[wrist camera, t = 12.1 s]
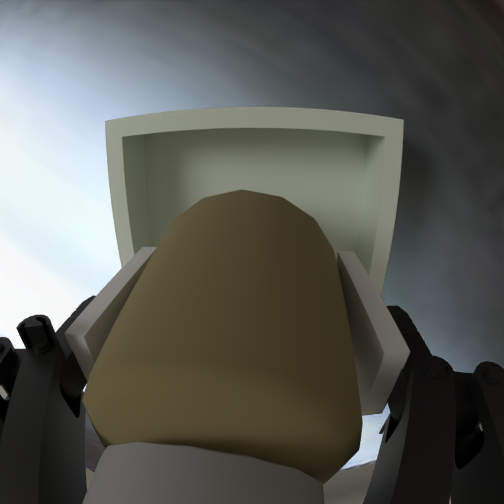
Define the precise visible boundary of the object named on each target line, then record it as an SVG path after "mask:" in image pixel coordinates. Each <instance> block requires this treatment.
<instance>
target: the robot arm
mask: <svg viewBox="0 0 504 504" xmlns="http://www.w3.org/2000/svg"><path fill="white" fill-rule="evenodd" d="M156 248H157V247H142V248H141V249H140V250H139V251H138V252H137V253H136V254H135V255H134V256H133V257H132V258H131V259H130V260H129V262H128V263H127V264H126V265H125V266H124V267H123V268H122V269H121V270H120V271H119V272H118V273H117V274H116V275H115V276H114V277H113V278H112V279H111V281H110V282H109V283H108V284H107V285H106V286H105V287H104V288H103V289H102V290H101V291H100V293H99V294H98V295H97V296H91V297H90V298H88V299H87V300H85V301H83V302H82V303H81V304H80V305H79V307H78V308H77V309H76V311H74V312H73V313H72V314H71V317H69V318H68V319H67V320H66V321H65V322H64V323H63V325H62V326H61V327H60V328H59V329H58V330H57V331H56V333H55V331H54V329H53V326H52V324H51V321H50V319H49V318H48V317H47V316H45V315H34V316H30V317H28V318H26V319H24V320H23V321H22V322H21V323H20V324H19V325H18V326H17V330H18V333H19V335H20V337H21V339H22V341H23V343H24V345H25V347H26V349H14V347H13V345H12V343H11V341H10V340H9V338H6V337H0V385H2V387H3V388H4V390H5V391H6V393H7V394H8V396H7V397H6V398H5V399H3V398H2V396H1V395H0V504H82V503H83V500H84V498H85V495H86V493H87V486H86V485H87V484H86V465H85V418H86V409H85V406H84V404H83V401H82V399H83V396H84V392H83V389H84V387H85V386H86V384H87V382H88V378H89V375H90V373H91V371H92V368H93V366H94V364H95V362H96V360H97V358H98V356H99V354H100V352H101V349H102V347H103V345H104V343H105V341H106V339H107V337H108V335H109V333H110V331H111V329H112V327H113V325H114V323H115V322H116V320H117V318H118V316H119V314H120V312H121V310H122V308H123V306H124V304H125V303H126V301H127V299H128V297H129V295H130V293H131V292H132V290H133V288H134V286H135V284H136V283H137V281H138V279H139V277H140V275H141V274H142V272H143V270H144V268H145V267H146V265H147V263H148V262H149V260H150V258H151V256H152V255H153V253H154V251H155V250H156ZM337 266H338V270H339V275H340V280H341V285H342V290H343V295H344V300H345V305H346V310H347V316H348V321H349V327H350V333H351V339H352V345H353V351H354V358H355V365H356V372H357V379H358V387H359V395H360V403H361V412H362V416H363V415H372V414H380V413H382V412H383V410H384V408H385V406H386V404H387V402H388V406H389V409H390V414H389V416H388V418H387V420H386V421H385V423H384V425H383V427H382V428H381V430H380V432H379V434H382V433H383V432H384V433H383V437H382V441H381V445H380V449H379V453H378V457H377V461H376V464H375V468H374V471H373V474H372V478H371V482H370V484H369V488H368V490H367V494H366V496H365V499H364V502H363V504H449V499H450V496H451V504H504V369H503V368H502V367H501V366H499V365H498V364H496V363H493V362H488V361H485V362H482V363H480V364H479V365H478V366H477V367H476V369H475V371H474V373H463V372H455V371H453V369H452V367H451V366H450V364H449V363H448V362H447V361H445V360H444V359H442V358H440V357H437V356H432V354H431V353H430V351H429V349H428V347H427V345H426V344H425V342H424V340H423V339H422V337H421V335H420V333H419V332H418V331H417V328H416V327H415V325H414V324H413V322H412V320H411V318H410V317H409V315H408V314H407V313H406V312H405V311H404V310H403V309H401V308H400V307H399V306H386V305H385V303H384V301H383V300H382V298H381V296H380V294H379V293H378V291H377V289H376V287H375V286H374V284H373V282H372V280H371V279H370V277H369V275H368V274H367V272H366V270H365V269H364V267H363V265H362V264H361V262H360V260H359V259H358V257H357V256H356V254H355V252H353V251H338V253H337ZM480 423H481V425H482V429H483V431H481V430H480V427H479V424H480Z"/></svg>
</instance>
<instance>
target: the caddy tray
mask: <svg viewBox="0 0 504 504" xmlns="http://www.w3.org/2000/svg"><path fill="white" fill-rule="evenodd" d="M403 122H404V120H402V119H396V118H390V117H384V116H377V115H370V114H363V113H355V112H346V111H336V110H324V109H310V108H290V107H225V108H206V109H191V110H180V111H170V112H161V113H153V114H145V115H138V116H131V117H125V118H119V119H113V120H108V121H105V129H106V149H107V164H108V175H109V186H110V195H111V203H112V211H113V218H114V225H115V232H116V238H117V244H118V250H119V256H120V261H121V266H122V268H123V267H124V266H125V265H126V264H127V263H128V262H129V260H130V259H131V258H132V257H133V256H134V255H135V254H136V253H137V252H138V251H139V250H140V249H141V248H142V247H157V246H158V245H159V243H160V241H161V240H162V238H163V236H164V235H165V233H166V232H167V230H168V228H169V227H170V225H171V224H172V222H173V220H174V219H175V218H177V217H178V216H179V215H181V214H182V213H183V212H185V211H186V210H187V209H189V208H190V207H191V206H193V205H194V204H195V203H197V202H198V201H199V200H201V199H202V198H205V197H209V196H214V195H218V194H222V193H227V192H232V191H236V190H241V189H243V190H248V191H254V192H259V193H265V194H270V195H275V196H280V197H283V198H285V199H286V200H288V201H289V202H291V203H292V204H294V205H295V206H297V207H298V208H300V209H301V210H303V211H304V212H306V213H307V214H308V215H310V216H311V217H313V218H314V219H315V220H316V221H317V223H318V225H319V226H320V228H321V229H322V231H323V233H324V234H325V236H326V237H327V239H328V241H329V242H330V244H331V246H332V247H333V249H334V252H335V257H336V261H337V253H338V251H353V252H355V254H356V256H357V257H358V259H359V260H360V262H361V264H362V265H363V267H364V269H365V270H366V272H367V274H368V275H369V277H370V279H371V280H372V282H373V284H374V286H375V287H376V289H377V291H378V293H379V294H380V296H381V293H382V289H383V284H384V280H385V275H386V270H387V265H388V260H389V255H390V249H391V243H392V237H393V231H394V224H395V218H396V210H397V202H398V194H399V185H400V174H401V162H402V147H403Z"/></svg>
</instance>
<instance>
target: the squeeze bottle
mask: <svg viewBox="0 0 504 504" xmlns="http://www.w3.org/2000/svg"><path fill="white" fill-rule="evenodd" d="M82 401H83V404H84V406H85V409H86V411H87V414H88V416H89V418H90V420H91V423H92V425H93V427H94V429H95V431H96V433H97V435H98V437H99V438H100V440H101V442H102V444H103V446H104V447H105V448H106V450H105V451H104V453H103V455H102V456H101V458H100V460H99V463H98V465H97V468H96V470H95V473H94V475H93V478H92V480H91V483H90V485H89V487H88V490H87V493H86V495H85V498H84V500H83V503H82V504H324V493H323V484H324V483H325V482H326V481H328V480H329V479H330V478H331V477H332V476H333V475H334V474H336V473H337V472H338V471H339V470H340V469H341V468H342V467H343V466H344V465H345V464H346V463H347V462H348V461H349V460H350V459H351V458H352V457H353V456H354V455H355V454H356V453H357V451H358V450H359V448H360V441H361V433H362V424H363V422H362V412H361V403H360V395H359V387H358V379H357V372H356V365H355V358H354V351H353V345H352V339H351V333H350V327H349V321H348V316H347V310H346V305H345V300H344V295H343V290H342V285H341V280H340V275H339V270H338V266H337V261H336V257H335V252H334V249H333V247H332V246H331V244H330V242H329V241H328V239H327V237H326V236H325V234H324V233H323V231H322V229H321V228H320V226H319V225H318V223H317V221H316V220H315V219H314V218H313V217H311V216H310V215H308V214H307V213H306V212H304V211H303V210H301V209H300V208H298V207H297V206H295V205H294V204H292V203H291V202H289V201H288V200H286V199H285V198H283V197H280V196H275V195H270V194H265V193H259V192H254V191H248V190H243V189H241V190H236V191H232V192H227V193H222V194H218V195H214V196H209V197H205V198H202V199H201V200H199V201H198V202H197V203H195V204H194V205H193V206H191V207H190V208H189V209H187V210H186V211H185V212H183V213H182V214H181V215H179V216H178V217H177V218H175V219H174V220H173V222H172V224H171V225H170V227H169V228H168V230H167V232H166V233H165V235H164V236H163V238H162V240H161V241H160V243H159V245H158V246H157V248H156V250H155V251H154V253H153V255H152V256H151V258H150V260H149V262H148V263H147V265H146V267H145V268H144V270H143V272H142V274H141V275H140V277H139V279H138V281H137V283H136V284H135V286H134V288H133V290H132V292H131V293H130V295H129V297H128V299H127V301H126V303H125V304H124V306H123V308H122V310H121V312H120V314H119V316H118V318H117V320H116V322H115V323H114V325H113V327H112V329H111V331H110V333H109V335H108V337H107V339H106V341H105V343H104V345H103V347H102V349H101V352H100V354H99V356H98V358H97V360H96V362H95V364H94V366H93V368H92V371H91V373H90V375H89V378H88V382H87V385H86V389H85V392H84V396H83V399H82Z"/></svg>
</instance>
